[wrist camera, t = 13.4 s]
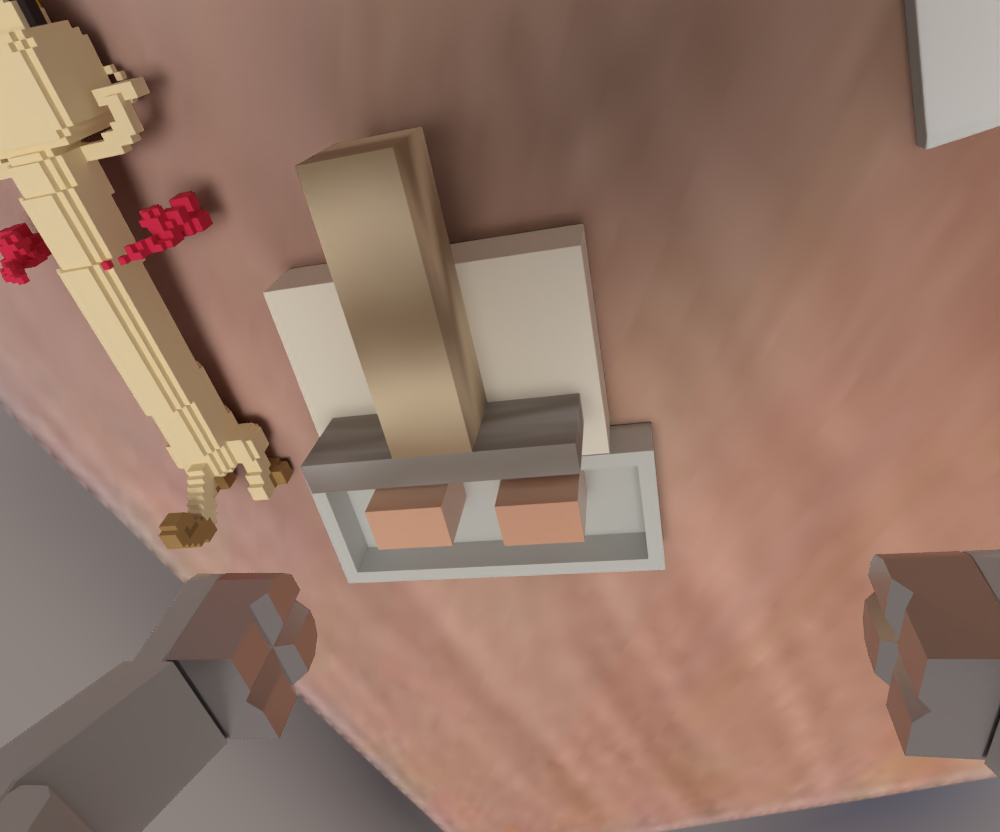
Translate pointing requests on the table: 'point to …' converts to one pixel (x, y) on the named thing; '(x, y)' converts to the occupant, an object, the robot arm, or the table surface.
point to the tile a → (416, 515)
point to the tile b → (542, 509)
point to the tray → (481, 552)
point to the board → (493, 324)
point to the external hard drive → (953, 68)
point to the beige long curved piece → (113, 251)
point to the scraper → (415, 337)
